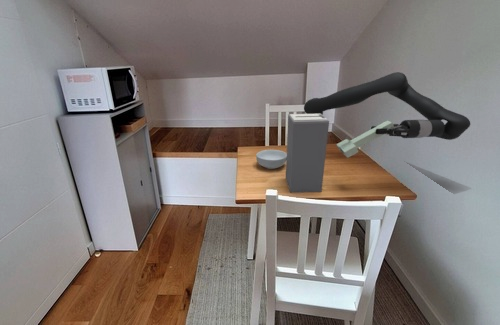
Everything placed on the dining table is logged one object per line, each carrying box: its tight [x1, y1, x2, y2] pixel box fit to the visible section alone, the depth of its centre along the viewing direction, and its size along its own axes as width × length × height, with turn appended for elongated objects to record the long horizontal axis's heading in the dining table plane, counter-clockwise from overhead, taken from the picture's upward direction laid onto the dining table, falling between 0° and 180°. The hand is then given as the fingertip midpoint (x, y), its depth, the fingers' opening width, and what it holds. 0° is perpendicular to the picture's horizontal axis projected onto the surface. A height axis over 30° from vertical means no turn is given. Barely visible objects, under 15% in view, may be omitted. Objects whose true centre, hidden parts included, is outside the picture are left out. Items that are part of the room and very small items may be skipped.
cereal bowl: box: [255, 149, 287, 170], centre depth 133 cm, size 17×17×7 cm
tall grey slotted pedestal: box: [285, 113, 330, 194], centre depth 107 cm, size 14×14×32 cm
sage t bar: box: [336, 120, 394, 159], centre depth 102 cm, size 22×10×3 cm
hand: (373, 130), depth 100 cm, fingers closed on sage t bar, 3 cm apart
